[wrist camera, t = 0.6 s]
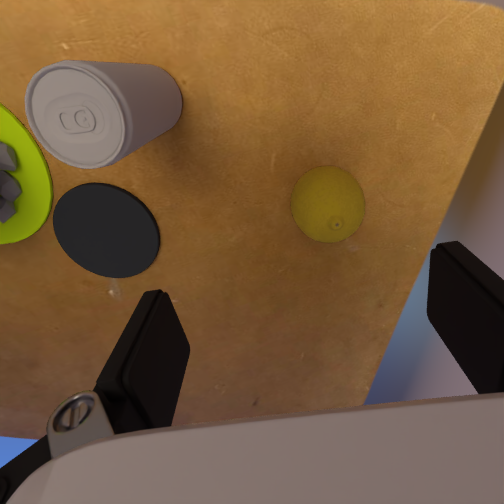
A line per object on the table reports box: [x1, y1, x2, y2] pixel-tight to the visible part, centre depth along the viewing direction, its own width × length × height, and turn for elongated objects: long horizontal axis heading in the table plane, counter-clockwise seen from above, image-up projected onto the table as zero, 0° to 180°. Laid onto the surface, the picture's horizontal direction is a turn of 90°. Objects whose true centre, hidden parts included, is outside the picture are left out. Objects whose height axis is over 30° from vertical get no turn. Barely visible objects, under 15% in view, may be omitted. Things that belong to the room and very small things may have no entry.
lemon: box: [290, 166, 365, 243], centre depth 25 cm, size 6×6×8 cm
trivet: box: [53, 183, 160, 278], centre depth 31 cm, size 10×10×1 cm
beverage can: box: [25, 60, 182, 169], centre depth 20 cm, size 5×5×12 cm
